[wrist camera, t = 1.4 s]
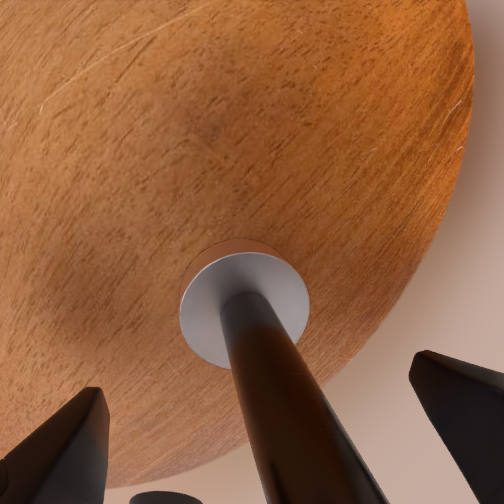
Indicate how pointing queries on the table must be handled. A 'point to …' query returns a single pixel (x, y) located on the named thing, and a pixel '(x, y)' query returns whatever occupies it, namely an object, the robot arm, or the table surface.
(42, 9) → the table surface
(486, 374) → the robot arm
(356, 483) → the paper towel holder
